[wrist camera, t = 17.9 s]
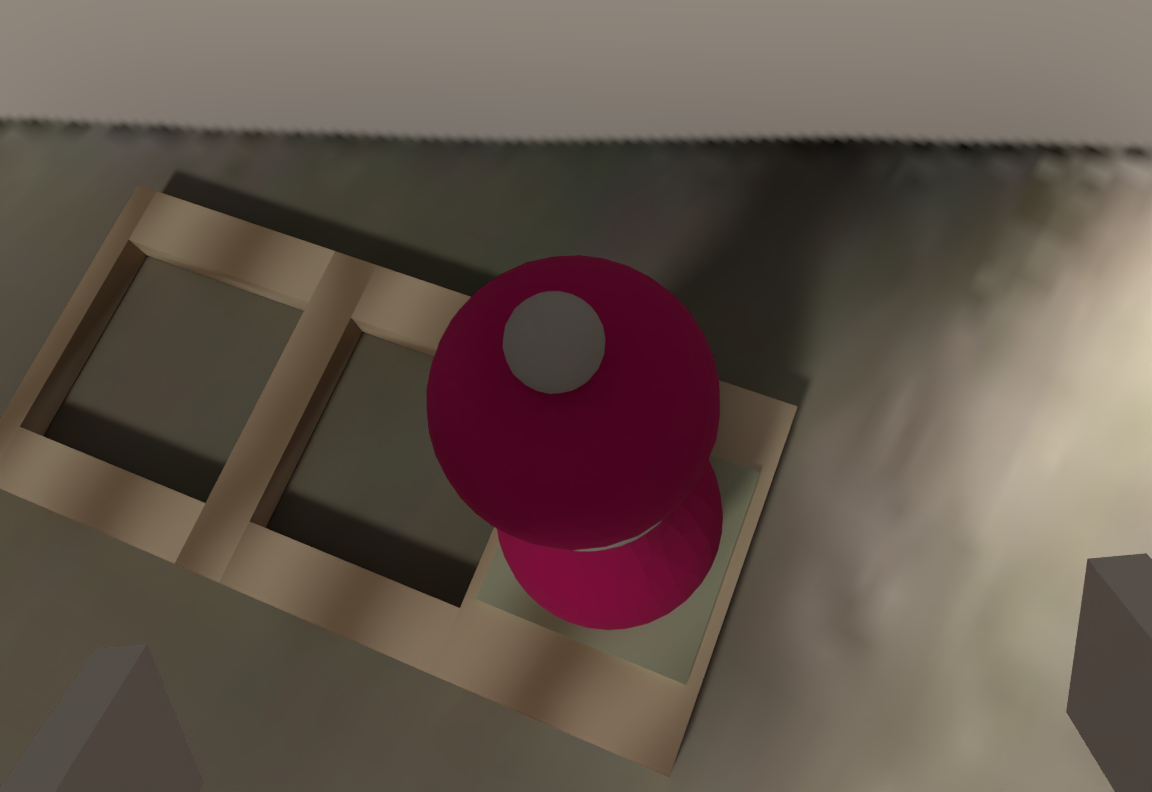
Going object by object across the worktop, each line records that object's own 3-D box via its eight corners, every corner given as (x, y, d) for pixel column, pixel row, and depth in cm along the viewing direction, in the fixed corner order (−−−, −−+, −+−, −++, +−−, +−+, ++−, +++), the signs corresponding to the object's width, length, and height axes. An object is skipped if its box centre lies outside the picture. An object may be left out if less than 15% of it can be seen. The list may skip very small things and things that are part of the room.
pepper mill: (696, 660, 33) (728, 588, 14) (497, 614, 34) (275, 489, 15) (733, 462, 35) (804, 164, 16) (544, 425, 36) (402, 107, 17)
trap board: (-8, 482, 39) (-39, 472, 38) (155, 202, 43) (134, 181, 41) (669, 774, 33) (669, 777, 32) (792, 418, 37) (798, 404, 35)
